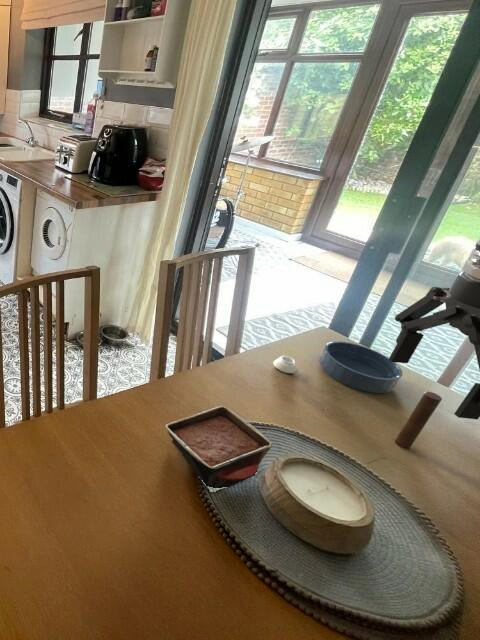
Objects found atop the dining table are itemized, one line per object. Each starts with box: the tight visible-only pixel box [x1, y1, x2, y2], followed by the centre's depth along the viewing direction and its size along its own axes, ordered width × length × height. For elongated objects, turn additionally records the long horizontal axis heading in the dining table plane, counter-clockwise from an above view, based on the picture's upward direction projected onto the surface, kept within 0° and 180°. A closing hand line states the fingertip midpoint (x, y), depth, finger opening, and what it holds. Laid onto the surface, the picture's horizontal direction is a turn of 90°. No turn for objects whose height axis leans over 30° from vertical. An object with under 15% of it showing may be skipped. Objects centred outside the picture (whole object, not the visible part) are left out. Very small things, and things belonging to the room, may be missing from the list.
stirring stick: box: [393, 391, 443, 450], centre depth 86 cm, size 2×2×14 cm
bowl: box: [318, 341, 403, 394], centre depth 107 cm, size 15×15×5 cm
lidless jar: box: [272, 355, 297, 374], centre depth 110 cm, size 5×3×5 cm
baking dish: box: [164, 405, 273, 488], centre depth 83 cm, size 14×18×10 cm
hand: (428, 386), depth 72 cm, fingers open, 13 cm apart
